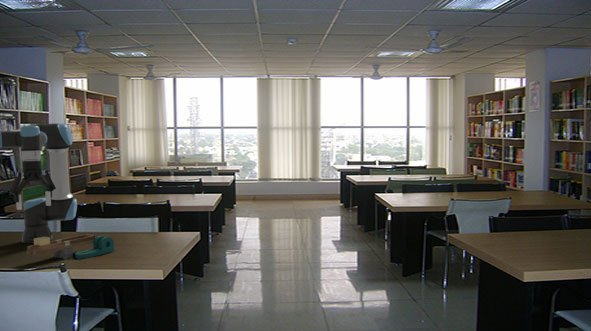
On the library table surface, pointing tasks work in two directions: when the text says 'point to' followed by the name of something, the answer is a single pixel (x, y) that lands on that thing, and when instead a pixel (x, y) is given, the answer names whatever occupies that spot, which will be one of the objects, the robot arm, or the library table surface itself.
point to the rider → (41, 241)
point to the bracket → (97, 248)
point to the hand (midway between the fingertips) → (34, 207)
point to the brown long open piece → (62, 246)
